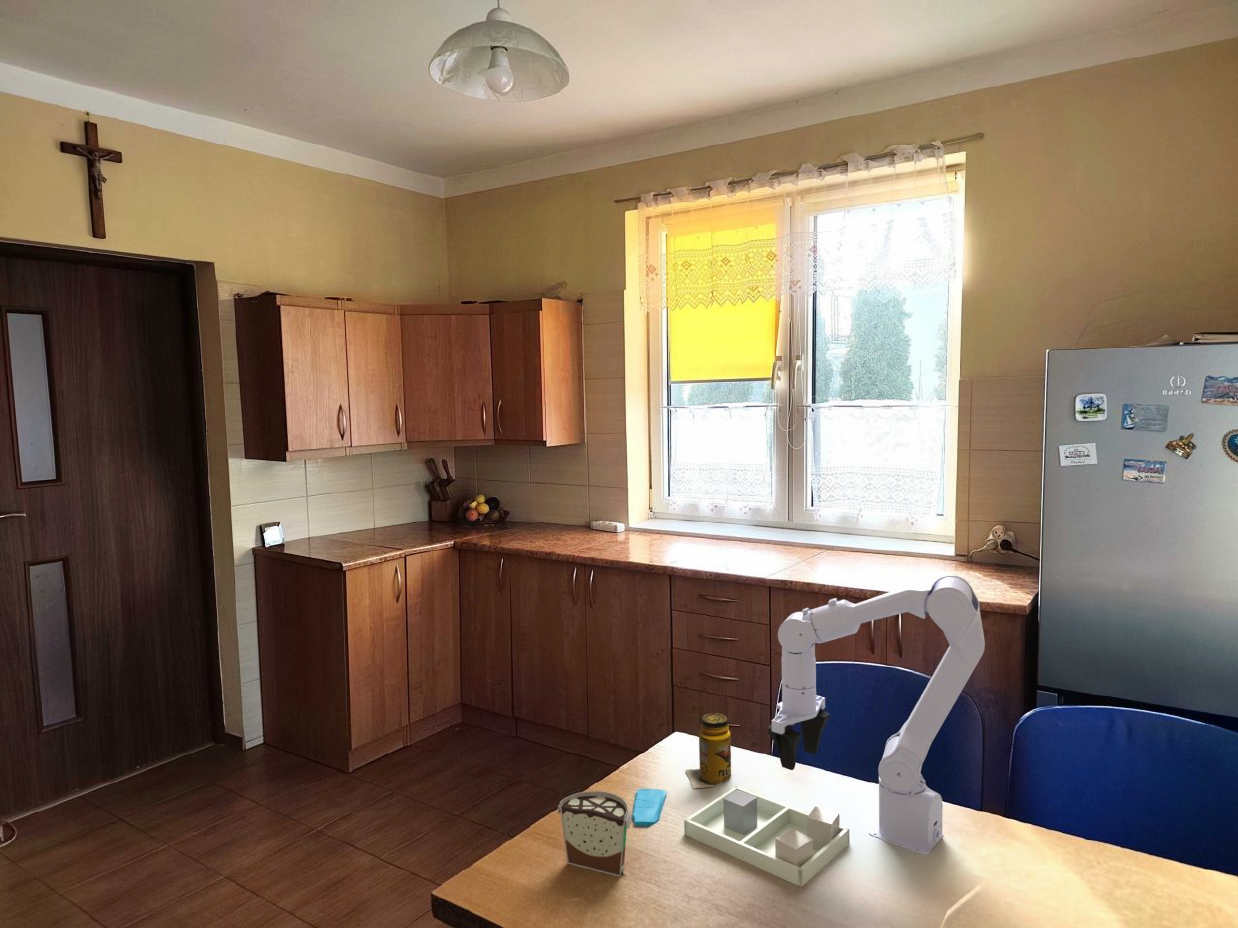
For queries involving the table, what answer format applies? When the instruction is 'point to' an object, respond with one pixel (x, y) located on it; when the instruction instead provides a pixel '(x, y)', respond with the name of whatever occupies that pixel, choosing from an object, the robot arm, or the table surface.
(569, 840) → the food container
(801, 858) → the white block
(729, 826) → the grey rectangular block
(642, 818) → the sponge
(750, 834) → the tray
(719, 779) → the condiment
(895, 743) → the robot arm
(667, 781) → the table surface
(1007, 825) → the table surface
